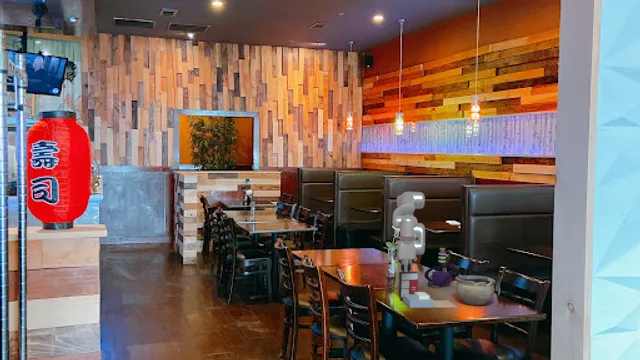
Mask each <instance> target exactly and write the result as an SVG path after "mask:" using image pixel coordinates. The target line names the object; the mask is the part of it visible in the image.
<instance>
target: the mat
mask: <svg viewBox="0 0 640 360" xmlns="http://www.w3.org/2000/svg"><path fill="white" fill-rule="evenodd" d="M433 300H434V308H458V306H457V305H456V304H454V303H453V302H452V301H450V300H447V299H446V300H445V299H444V300H440V299H439V300H437V299H436V300H435V299H433Z"/></svg>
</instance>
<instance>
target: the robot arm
mask: <svg viewBox="0 0 640 360" xmlns="http://www.w3.org/2000/svg"><path fill="white" fill-rule="evenodd" d="M425 203H426V197H425V194H424V193H423V192H421V191H404V192H403V193H402V194H400V195H398V196H397V197H396V205H397V207H396V208H395V210H394V211H393V213H392V226H393V228H394V229H399V234H400V235H399V240H398V241H397V244H396V248H397V249H396V256H395V257H394V260H395V261H397V278H396V279H397V280H396V284H395V285H394V289H396V290H399V272H414V271H413V270H414V269H413V268H414V266H413V265H414V262H416V261H418V257H417V256H423V255H424V253H425V251H426V249H425V248H426V227H425V225H424V224H423V223H421V222H418V219H417V217H416V216H414V212H415V210H416V209H418V210H421V209H423V208H424V207H425Z"/></svg>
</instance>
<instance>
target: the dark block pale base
mask: <svg viewBox="0 0 640 360" xmlns="http://www.w3.org/2000/svg"><path fill="white" fill-rule="evenodd" d="M418 289H419V272H418V271H413V272H399V289H398V297H399V298H401V299H403V294H415V292H419V290H418Z"/></svg>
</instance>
